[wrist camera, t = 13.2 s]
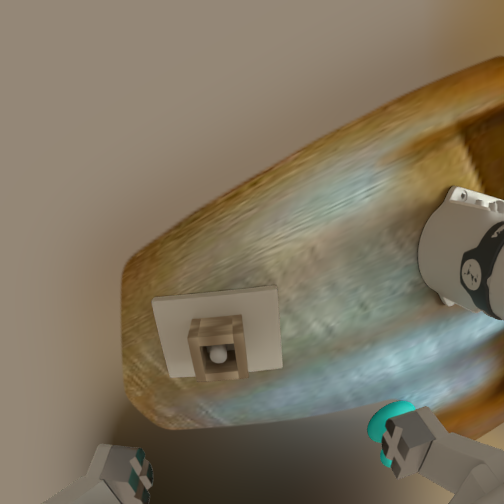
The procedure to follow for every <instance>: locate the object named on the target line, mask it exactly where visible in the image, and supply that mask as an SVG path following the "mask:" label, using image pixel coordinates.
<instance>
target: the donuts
mask: <svg viewBox="0 0 504 504" xmlns="http://www.w3.org/2000/svg"><path fill="white" fill-rule="evenodd" d="M414 410H416V409H415V407H414V406H413V404H411V403H410V402H407V401H397V402H393V403H390V404H388V405H386V406H384V407H383V408H381V409H380V410H379V411H378V412H376V413H375V415H374V416H373V417H372V419H371V420H370V422H369V424H368V428H367V432H368V435H369V437H370V438H371V439H372V440H373V441H375V442H379V443H382V442H381V440H382V435H383V434H384V433H385V432H386V430H387V429H386V427H385V424H386V421H387V419H388V418H391V417H395V416H398V415H401V414H404V413H407V412H410V411H414ZM380 459H381V462H382V463H383V464H384V465H385V466H387V467H390V466H391V463H392V460H389V459H387V458H386V457H385V455H384V453H383V450H381V453H380ZM390 468H391V467H390Z"/></svg>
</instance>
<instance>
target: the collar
mask: <svg viewBox="0 0 504 504" xmlns="http://www.w3.org/2000/svg"><path fill="white" fill-rule="evenodd" d="M187 340H188V345H189V349H190V354H191V358H192V363H193V367H194V372H195V376H196V380H197V382H207V381H220V380H232V379H243V378H249V374H248V363H247V353H246V345H245V337H244V329H243V320H242V314H240V315H231V316H221V317H210V318H199V319H192V321H191V325H190V329H189V333H188V337H187ZM233 343H234V348H235V350H230V351H227V359H226V360H225V361H224V362H223V363H215V362H213V361H212V360H211V358H210V352H207V348H206V346H211V345H222V344H233Z"/></svg>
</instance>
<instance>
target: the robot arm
mask: <svg viewBox="0 0 504 504" xmlns="http://www.w3.org/2000/svg"><path fill="white" fill-rule="evenodd" d="M461 194H462V197H461ZM418 263H419V269H420V272H421V275H422V277H423V279H424V281H425V282H426V284H427V285H428V286H429V287H430V288H431V289H433V290H434V291H436V292H437V293H438V294H439V296H440V298H441V300H442V302H443V303H444V304H445V305H447V306H452V305H454V304H458V305H460V306H461V307H463V308H465V309H467V310H469V311H471V312H474V313H478V312H480V311H483V312H484V313H485V314H486V315H488V316H490V317H493V318H495V319H498V320H504V200H501V199H498V198H495V197H492V196H488V195H485V194H482V193H479V192H476V191H472V190H469V189H465V188H462V187H458V186H452V187H451V188H450V190H449V192H448V194H447V196H446V198H445V200H444V202H443V203H442V205H441V206H440V207H439V208H438V209H437V210H436V211H435V212H434V213H433V214H432V215H431V217H430V218H429V220H428V221H427V223H426V225H425V227H424V229H423V232H422V235H421V238H420V242H419V249H418ZM385 427H386V429H387V430H386V432H385V433H384V434H383V435H382V440H381V442H382V450H383V453H384V455H385V457H386V458H387V459H389V460H392V463H391V466H390V467H391V469H392V471H393V473H394V475H395V476H396V479H400V478H403V477H406V476H409V475H412V474H415V473H417V472H419V474H421V475H422V476H424V477H426V478H427V479H429V480H431V481H433V482H434V483H436V484H438V485H440V486H441V487H443V488H445V489H447V490H448V491H450V492H452V493H454V494H455V495H454V497H453V498H452V499H451V501H450V502H449V503H448V504H504V451H503V450H501V449H498V448H495V447H492V446H489V445H486V444H483V443H480V442H477V441H474V440H472V439H469V438H466V437H463V436H461V435H458V434H455V433H448V432H447V431H446V429H445V428H444V427H443V425H442V424H441V423H440V421H439V420H438V419H437V418H436V416H435V415H434V414H433V412H432V411H431V410H430V409H429V407H427V406H425V407H422V408H419V409H416V410H414V411H410V412H407V413H404V414H401V415H398V416H395V417H391V418H388V419H387V421H386V424H385ZM144 457H145V453H144V451H143V449H142V448H134V447H125V446H116V445H107V444H100V445H99V446H98V447H97V449H96V452H95V454H94V457H93V459H92V462H91V464H90V467H89V469H88V472H87V474H86V477H83V476H82V477H80V478H79V479H77V480H76V481H75V482H73V483H72V484H70V485H69V486H67V487H66V488H65V489H63V490H61V491H60V492H58V493H57V494H55V495H54V496H52V497H51V498H49V499H48V500H46V501H45V502H43V503H42V504H149V499H150V494H149V493H148V491H147V489H149V487H151V486H152V483H153V470H152V466H151V464H150V462H149V461H147V460H146V459H144Z"/></svg>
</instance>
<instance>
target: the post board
mask: <svg viewBox="0 0 504 504" xmlns="http://www.w3.org/2000/svg"><path fill="white" fill-rule="evenodd" d="M151 303H152V307H153V312H154V316H155V321H156V325H157V329H158V333H159V337H160V341H161V345H162V349H163V353H164V357H165V361H166V364H167V368H168V372H169V375H170V378H172V377H193V376H195V372H194V367H193V363H192V358H191V354H190V349H189V345H188V340H187V337H188V333H189V329H190V325H191V321H192V319H199V318H210V317H221V316H231V315H240V314H242V320H243V329H244V337H245V345H246V353H247V363H248V372H253V371H262V370H270V369H278V368H283V365H282V348H281V332H280V317H279V302H278V289H277V286H276V285H271V286H263V287H254V288H244V289H235V290H225V291H216V292H205V293H195V294H184V295H173V296H162V297H154V298H153V299H152V301H151ZM206 348H207V352H210V358H211V360H212V361H213V362H215V363H223V362H224V361H225V360H226V359H227V351H230V350H235V348H234V343H233V344H222V345H211V346H206Z"/></svg>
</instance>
